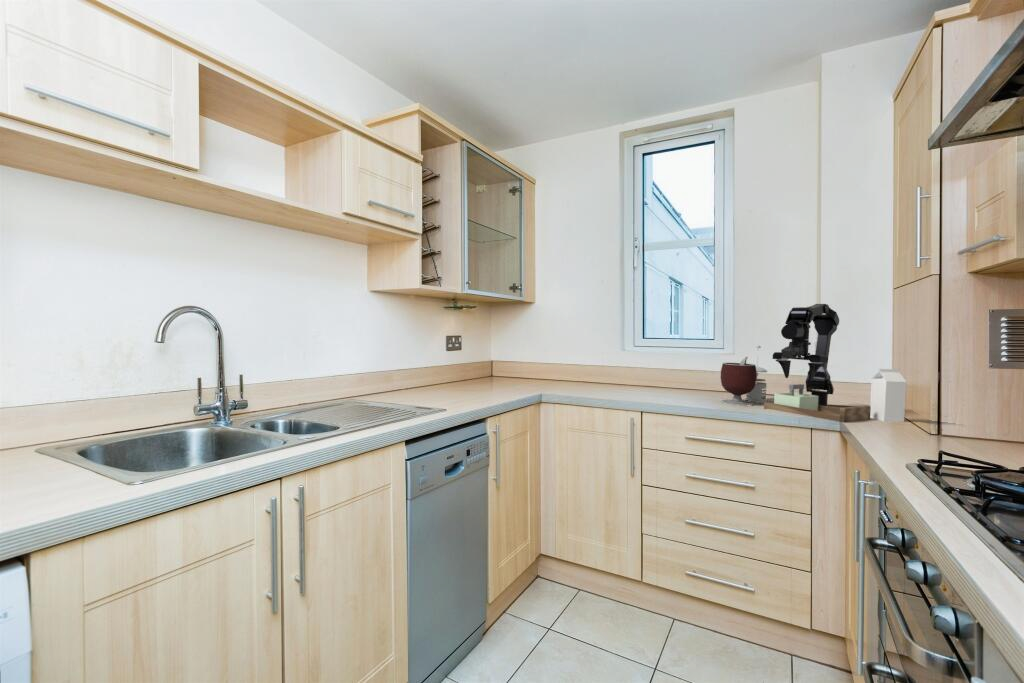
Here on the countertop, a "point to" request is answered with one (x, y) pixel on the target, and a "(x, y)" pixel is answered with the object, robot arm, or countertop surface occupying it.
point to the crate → (797, 398)
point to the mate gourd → (738, 380)
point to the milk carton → (888, 396)
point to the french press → (758, 387)
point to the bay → (827, 412)
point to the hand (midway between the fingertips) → (798, 379)
